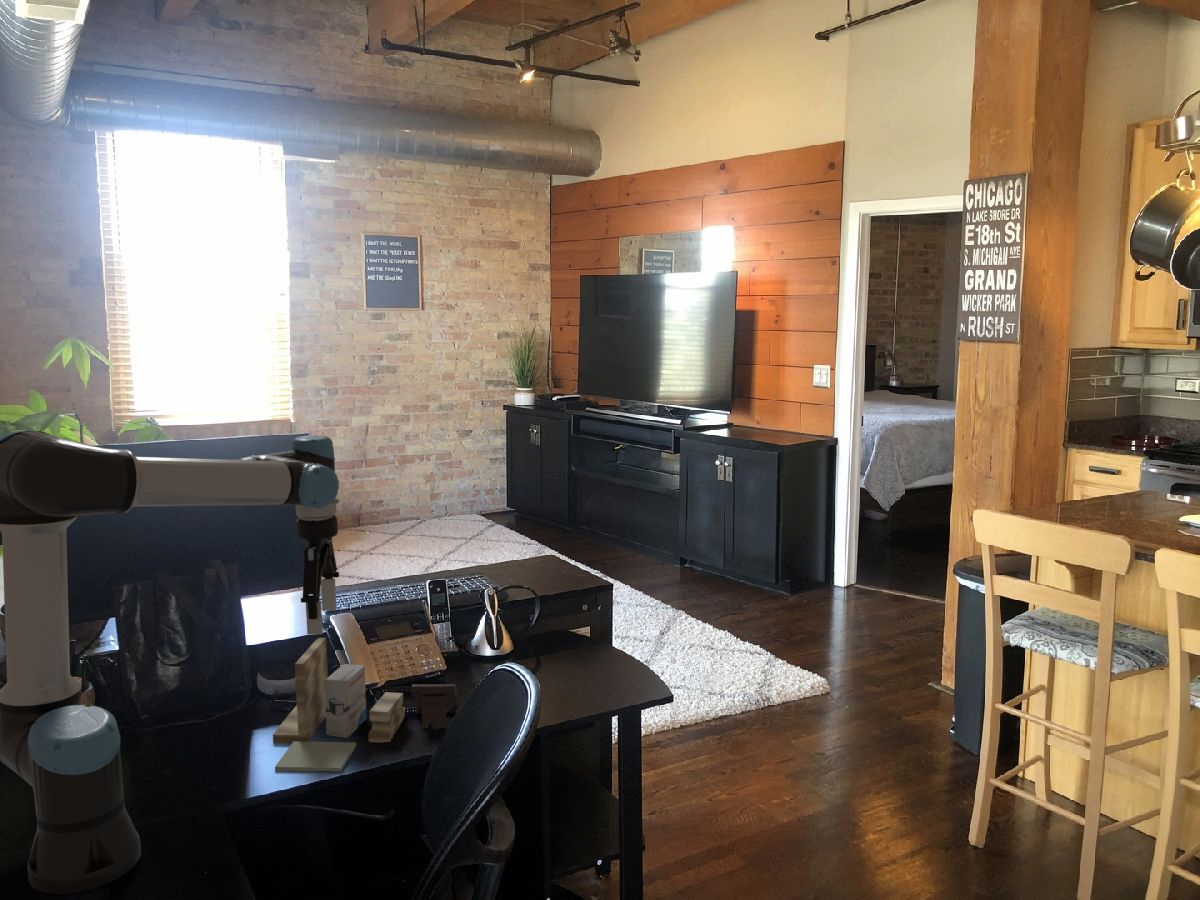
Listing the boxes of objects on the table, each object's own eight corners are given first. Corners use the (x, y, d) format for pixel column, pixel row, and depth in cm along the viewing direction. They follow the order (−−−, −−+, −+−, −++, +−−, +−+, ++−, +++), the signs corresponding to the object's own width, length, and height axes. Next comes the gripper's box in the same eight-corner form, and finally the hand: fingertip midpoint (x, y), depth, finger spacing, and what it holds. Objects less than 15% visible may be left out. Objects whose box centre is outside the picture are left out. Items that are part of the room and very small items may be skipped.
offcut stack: (390, 743, 188) (389, 714, 187) (367, 742, 189) (366, 713, 188) (406, 716, 200) (405, 688, 199) (385, 716, 200) (384, 688, 199)
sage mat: (340, 772, 177) (340, 767, 177) (275, 770, 177) (274, 766, 177) (356, 746, 187) (356, 742, 186) (293, 745, 187) (293, 741, 187)
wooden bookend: (307, 743, 188) (303, 663, 185) (273, 742, 188) (268, 663, 186) (329, 711, 202) (325, 637, 199) (297, 711, 202) (293, 637, 199)
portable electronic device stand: (460, 711, 202) (459, 673, 201) (456, 728, 194) (455, 689, 193) (417, 712, 202) (416, 673, 201) (411, 729, 194) (410, 689, 193)
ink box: (345, 717, 199) (343, 662, 197) (368, 719, 198) (366, 664, 196) (325, 736, 191) (322, 679, 189) (349, 738, 190) (347, 681, 188)
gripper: (323, 532, 176) (329, 644, 180) (348, 501, 201) (353, 600, 204) (280, 532, 175) (287, 645, 179) (311, 502, 200) (316, 601, 204)
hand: (322, 621), depth 192 cm, fingers open, 13 cm apart
